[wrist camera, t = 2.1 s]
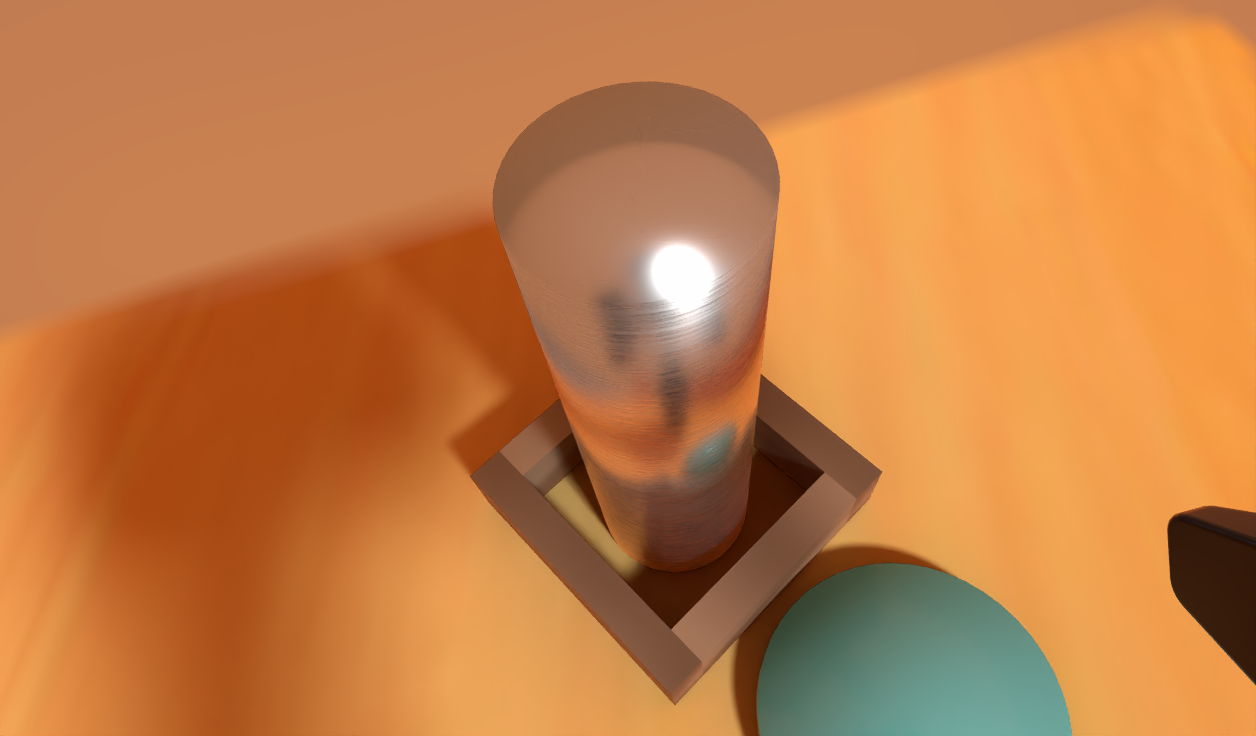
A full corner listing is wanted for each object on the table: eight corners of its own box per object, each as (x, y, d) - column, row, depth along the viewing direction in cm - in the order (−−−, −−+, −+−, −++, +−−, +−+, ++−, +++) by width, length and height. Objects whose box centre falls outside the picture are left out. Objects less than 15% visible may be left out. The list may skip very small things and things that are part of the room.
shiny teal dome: (936, 971, 17) (946, 978, 16) (696, 712, 20) (695, 709, 19) (1121, 720, 19) (1136, 716, 18) (878, 517, 22) (883, 507, 21)
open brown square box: (674, 704, 20) (670, 694, 18) (488, 501, 23) (470, 475, 21) (869, 498, 22) (882, 471, 20) (674, 337, 25) (671, 302, 23)
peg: (674, 603, 21) (628, 359, 10) (574, 501, 23) (436, 192, 12) (777, 500, 22) (841, 173, 11) (674, 409, 24) (638, 44, 13)
